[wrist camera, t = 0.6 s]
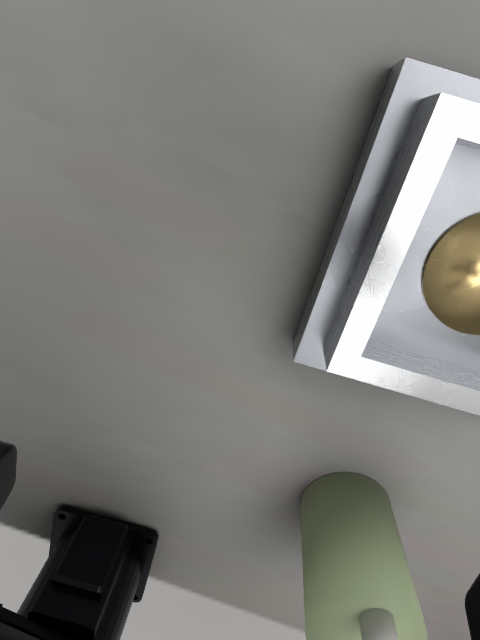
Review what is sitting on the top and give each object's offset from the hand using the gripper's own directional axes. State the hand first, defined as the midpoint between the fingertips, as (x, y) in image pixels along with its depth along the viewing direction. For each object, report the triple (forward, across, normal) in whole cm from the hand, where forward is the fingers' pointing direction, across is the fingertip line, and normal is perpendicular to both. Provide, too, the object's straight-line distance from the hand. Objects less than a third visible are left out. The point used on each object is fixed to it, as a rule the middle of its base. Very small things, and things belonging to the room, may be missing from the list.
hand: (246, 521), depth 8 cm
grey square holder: (+13, -8, -4) cm, 16 cm away
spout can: (+13, -8, +11) cm, 19 cm away
